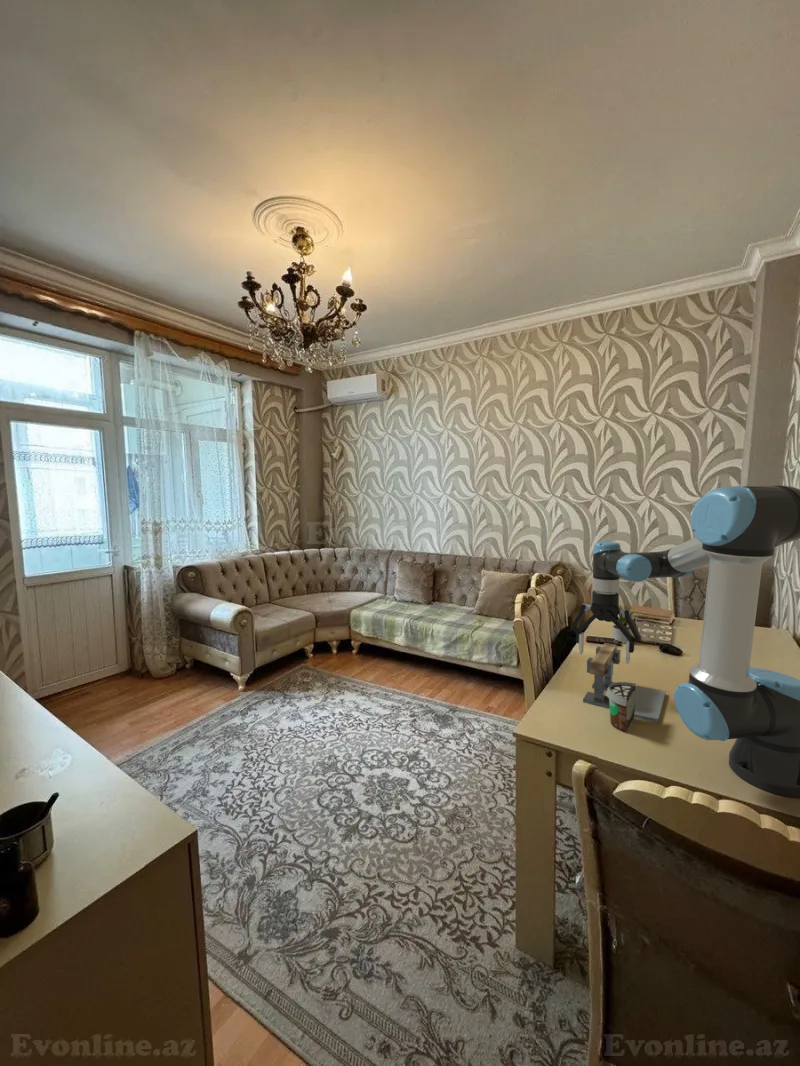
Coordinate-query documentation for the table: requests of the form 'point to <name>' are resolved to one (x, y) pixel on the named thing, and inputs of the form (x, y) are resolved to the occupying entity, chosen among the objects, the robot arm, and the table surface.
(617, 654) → the post far
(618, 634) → the house plant
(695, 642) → the table surface
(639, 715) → the mat
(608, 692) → the food container
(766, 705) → the robot arm
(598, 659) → the rail
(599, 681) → the post near
